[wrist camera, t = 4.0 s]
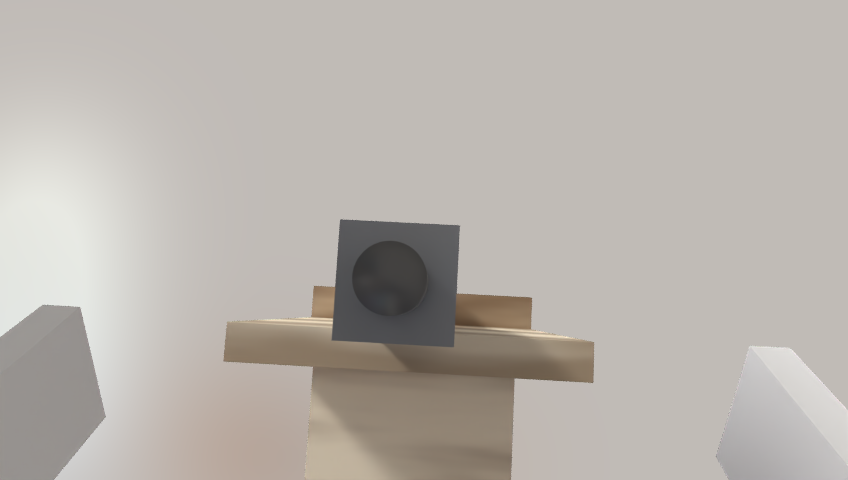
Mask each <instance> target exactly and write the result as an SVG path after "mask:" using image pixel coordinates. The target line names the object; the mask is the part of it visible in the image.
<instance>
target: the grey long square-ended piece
mask: <svg viewBox="0 0 848 480" xmlns="http://www.w3.org/2000/svg"><path fill="white" fill-rule="evenodd" d="M339 230H340V231H339V243H338V257H337V271H336V285H335V298H334V312H333V326H332V340H331V341H349V342H367V343H384V344H402V345H420V346H437V347H454V336H455V315H456V294H457V273H458V251H459V231H460V226H458V225H439V224H419V223H399V222H379V221H359V220H340V229H339Z"/></svg>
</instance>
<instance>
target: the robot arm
mask: <svg viewBox="0 0 848 480" xmlns="http://www.w3.org/2000/svg"><path fill="white" fill-rule="evenodd" d="M105 417H106V416H105V412H104V408H103V403H102V399H101V395H100V390H99V386H98V383H97V377H96V373H95V369H94V365H93V360H92V356H91V352H90V347H89V343H88V339H87V335H86V330H85V326H84V322H83V317H82V313H81V309H80V307H71V306H54V305H42V306H41V307H39V308H38V309H37V310H35V311H34V312H33V313H31V314H30V315H29V316H27V317H26V318H25V319H24V320H22V321H21V322H20V323H18V324H17V325H16V326H14V327H13V328H12V329H10V330H9V331H8V332H7V333H5V334H4V335H3V336H1V337H0V480H54V479H55V478H56V476H57V475H58V474H59V473H60V471H61V470H62V469H63V467H65V466H66V464H67V463H68V462H69V461H70V459H71V458H72V457H73V456H74V455H75V453H76V452H77V451H78V450H79V449H80V447H81V446H82V445H83V444H84V443H85V441H86V440H87V439H88V437H89V436H90V435H91V434H92V433H93V432H94V430H95V429H96V428H97V427H98V425H99V424H100V423H101V422H102V421H103V419H104V418H105ZM716 457H717V459H718V461H719V463H720V465H721V466H722V468H723V470H724V472H725V474H726V475H727V477H728V479H729V480H848V410H847V409H846V408H845V407H844V406H843V404H842V403H841V402H840V401H839V400H838V399H837V398H836V397H835V396H834V395H833V394H832V393H831V391H830V390H829V389H828V388H826V386H825V385H824V384H823V383H822V382H821V381H820V380H819V379H818V377H817V376H816V375H815V374H814V373H813V372H812V371H811V370H810V369H809V368H808V367H807V365H805V363H804V362H803V361H802V360H801V359H800V358H799V357H798V356H797V355H796V354H795V353H794V351H793V350H792V349H791V348H779V347H761V346H750V347H749V349H748V353H747V356H746V360H745V363H744V366H743V369H742V372H741V376H740V379H739V382H738V386H737V389H736V392H735V395H734V399H733V402H732V405H731V409H730V412H729V415H728V418H727V422H726V425H725V429H724V432H723V435H722V438H721V442H720V445H719V448H718V451H717V455H716Z"/></svg>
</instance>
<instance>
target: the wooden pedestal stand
mask: <svg viewBox="0 0 848 480" xmlns="http://www.w3.org/2000/svg"><path fill="white" fill-rule="evenodd" d="M334 298H335V287H324V286H314V291H313V304H312V317H308V318H307V317H306V318H290V319H289V318H288V319H269V320H251V321H232V322H227V329H226V340H225V351H224V361H226V362H242V363H259V364H277V365H294V366H311V367H313V376H312V389H311V402H310V416H309V429H308V442H307V455H306V469H305V480H511V463H512V434H513V405H514V378H519V379H536V380H537V379H538V380H553V381H570V382H588V383H593V371H594V370H593V368H594V342H591V341H585V340H581V339H576V338H571V337H566V336H561V335H556V334H550V333H546V332H542V331H536V330H532V329H531V310H532V298H529V297H510V296H492V295H473V294H456V315H455V336H454V347H437V346H420V345H402V344H384V343H367V342H349V341H331V340H332V326H333V312H334Z"/></svg>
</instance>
